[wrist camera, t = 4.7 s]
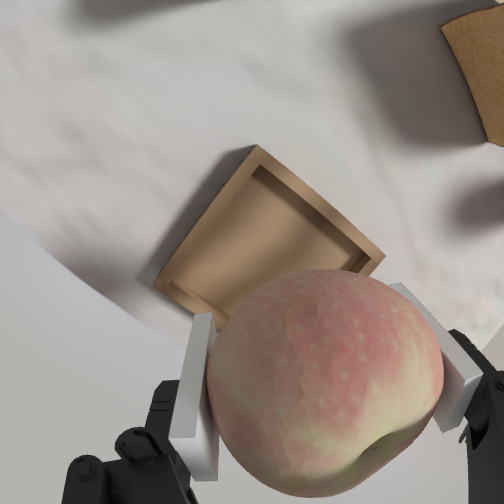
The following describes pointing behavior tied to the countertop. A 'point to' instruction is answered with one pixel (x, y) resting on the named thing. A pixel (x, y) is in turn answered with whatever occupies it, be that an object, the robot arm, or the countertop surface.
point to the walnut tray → (260, 240)
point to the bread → (482, 63)
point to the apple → (322, 380)
